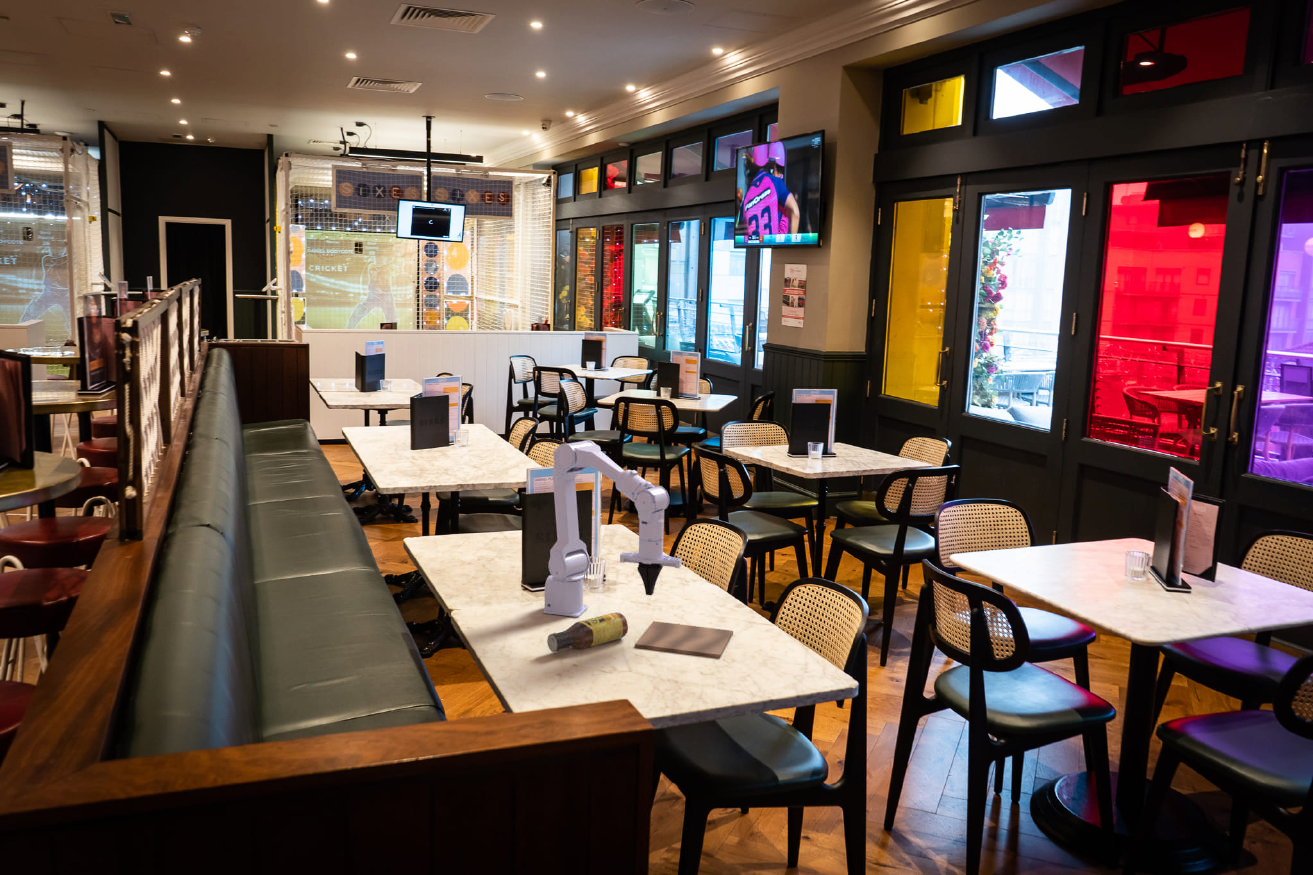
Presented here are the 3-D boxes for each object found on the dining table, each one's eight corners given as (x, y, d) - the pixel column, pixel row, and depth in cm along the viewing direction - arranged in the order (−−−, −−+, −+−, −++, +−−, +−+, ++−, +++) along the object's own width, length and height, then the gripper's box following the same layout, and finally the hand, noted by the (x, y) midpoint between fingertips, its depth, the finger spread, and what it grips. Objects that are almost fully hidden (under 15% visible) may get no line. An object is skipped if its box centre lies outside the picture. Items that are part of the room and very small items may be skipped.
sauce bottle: (626, 609, 220) (558, 627, 207) (631, 636, 219) (564, 655, 206) (609, 612, 225) (542, 630, 212) (614, 638, 224) (547, 657, 211)
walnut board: (635, 647, 216) (635, 643, 216) (653, 624, 231) (653, 621, 231) (720, 658, 211) (720, 654, 211) (733, 633, 226) (733, 630, 226)
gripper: (616, 539, 218) (615, 595, 220) (677, 545, 214) (675, 602, 216) (625, 532, 225) (624, 586, 227) (684, 538, 221) (682, 593, 223)
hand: (649, 593), depth 222 cm, fingers closed
